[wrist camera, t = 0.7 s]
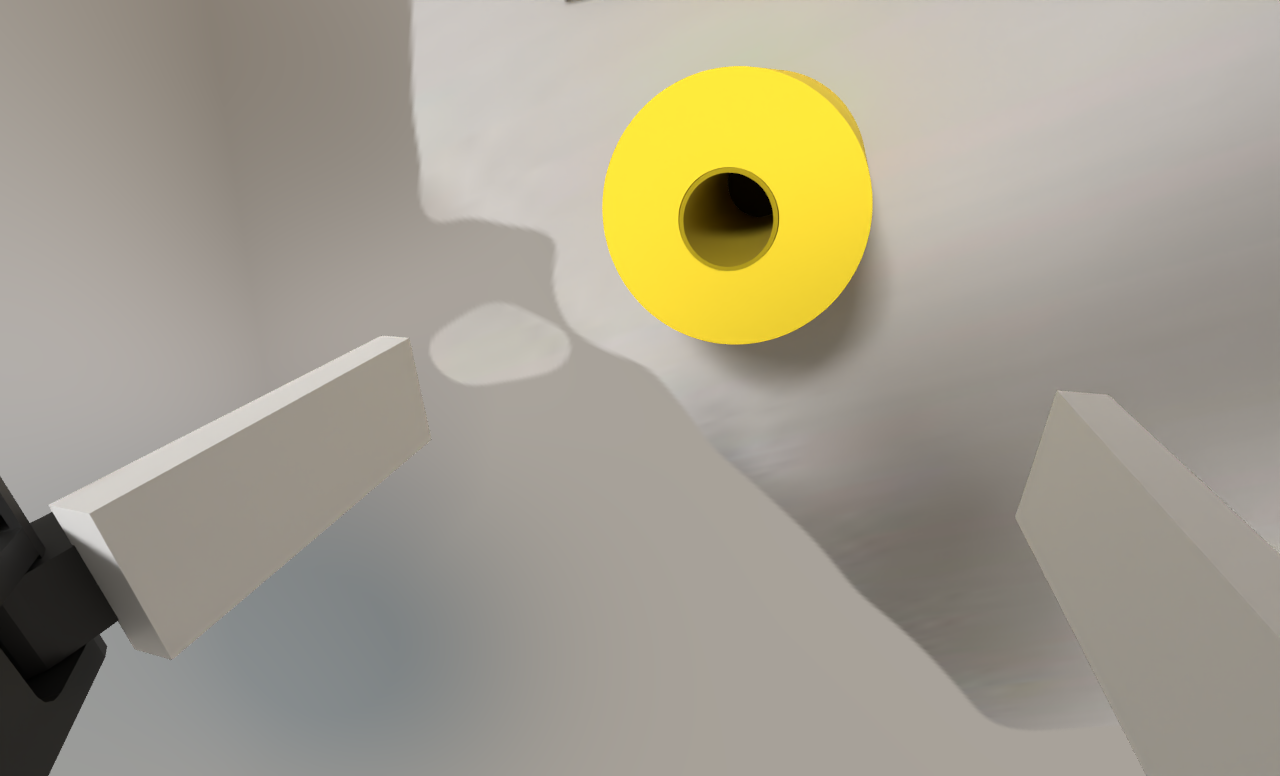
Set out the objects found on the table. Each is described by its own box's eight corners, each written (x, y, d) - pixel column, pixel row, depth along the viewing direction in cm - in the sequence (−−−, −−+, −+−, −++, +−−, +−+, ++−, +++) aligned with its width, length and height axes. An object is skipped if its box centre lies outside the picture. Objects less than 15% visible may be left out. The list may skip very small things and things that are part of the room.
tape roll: (679, 59, 27) (610, 52, 19) (894, 81, 25) (914, 83, 17) (658, 258, 32) (596, 317, 24) (834, 292, 30) (829, 368, 22)
